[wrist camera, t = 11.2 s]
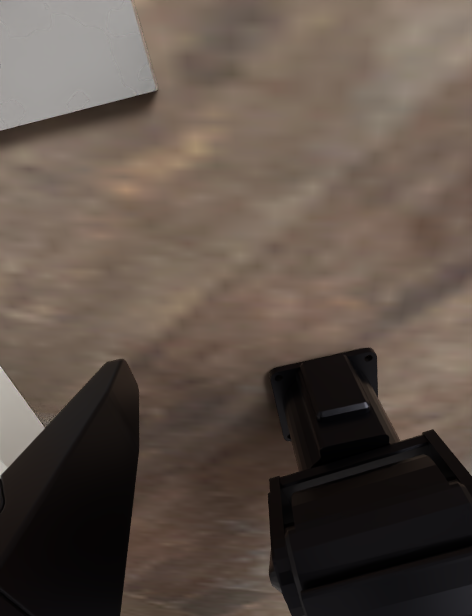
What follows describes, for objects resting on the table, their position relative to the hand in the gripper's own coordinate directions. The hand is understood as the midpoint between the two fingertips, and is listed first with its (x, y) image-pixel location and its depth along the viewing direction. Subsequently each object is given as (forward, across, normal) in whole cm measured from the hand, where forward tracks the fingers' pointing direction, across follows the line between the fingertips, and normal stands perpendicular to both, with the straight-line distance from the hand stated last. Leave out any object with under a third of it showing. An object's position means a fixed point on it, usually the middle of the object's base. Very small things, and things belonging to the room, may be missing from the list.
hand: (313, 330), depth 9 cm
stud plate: (+11, +8, -10) cm, 17 cm away
